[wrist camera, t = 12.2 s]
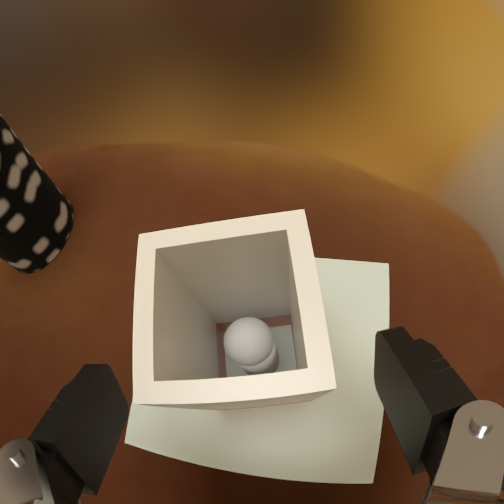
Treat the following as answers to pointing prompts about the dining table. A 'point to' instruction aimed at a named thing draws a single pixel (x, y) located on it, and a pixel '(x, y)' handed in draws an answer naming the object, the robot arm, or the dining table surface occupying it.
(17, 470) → the robot arm
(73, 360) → the dining table surface
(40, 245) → the spotted tube
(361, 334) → the pin board
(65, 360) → the dining table surface
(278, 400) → the sleeve
